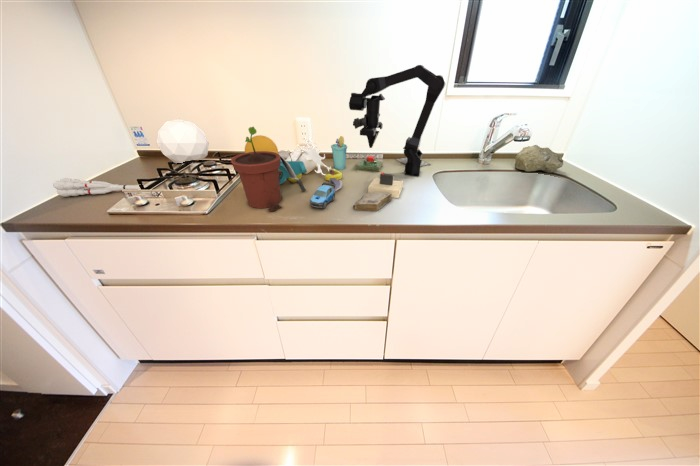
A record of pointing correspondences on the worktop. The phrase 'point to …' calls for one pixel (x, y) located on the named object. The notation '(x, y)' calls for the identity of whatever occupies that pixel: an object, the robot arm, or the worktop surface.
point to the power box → (370, 165)
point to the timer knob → (386, 179)
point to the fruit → (296, 177)
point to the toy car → (323, 196)
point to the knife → (334, 178)
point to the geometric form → (182, 141)
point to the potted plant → (261, 176)
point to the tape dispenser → (296, 167)
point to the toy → (261, 144)
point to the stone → (372, 201)
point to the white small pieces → (295, 154)
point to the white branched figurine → (312, 158)
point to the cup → (339, 153)
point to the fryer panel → (386, 187)
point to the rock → (538, 159)
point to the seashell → (284, 155)
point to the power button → (370, 158)
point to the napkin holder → (406, 161)
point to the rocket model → (87, 187)
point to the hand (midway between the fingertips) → (370, 147)
